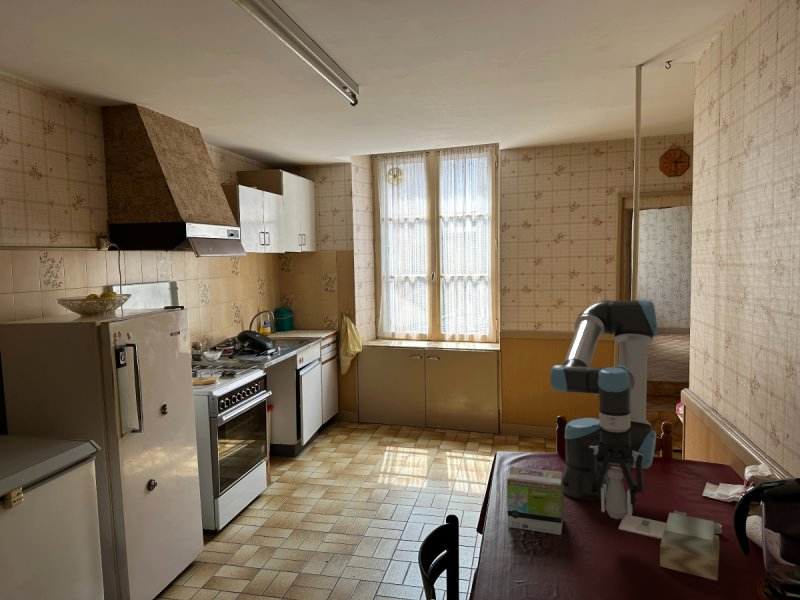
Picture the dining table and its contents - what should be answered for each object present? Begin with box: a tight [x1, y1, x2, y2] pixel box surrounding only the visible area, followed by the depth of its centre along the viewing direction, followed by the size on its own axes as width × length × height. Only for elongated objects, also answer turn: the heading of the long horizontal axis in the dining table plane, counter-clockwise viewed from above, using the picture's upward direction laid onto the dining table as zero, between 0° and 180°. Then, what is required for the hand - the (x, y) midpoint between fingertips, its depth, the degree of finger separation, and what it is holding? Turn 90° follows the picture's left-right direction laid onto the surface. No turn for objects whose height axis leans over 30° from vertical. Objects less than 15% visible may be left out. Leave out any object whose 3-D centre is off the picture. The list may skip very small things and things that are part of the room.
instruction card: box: [618, 514, 667, 540], centre depth 145 cm, size 12×9×1 cm
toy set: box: [673, 509, 723, 535], centre depth 143 cm, size 12×3×4 cm, turn 46°
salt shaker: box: [605, 465, 627, 520], centre depth 137 cm, size 6×6×13 cm
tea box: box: [506, 466, 564, 536], centre depth 150 cm, size 15×10×15 cm, turn 70°
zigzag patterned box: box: [659, 512, 720, 581], centre depth 128 cm, size 12×12×9 cm
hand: (616, 512), depth 138 cm, fingers closed on salt shaker, 6 cm apart
